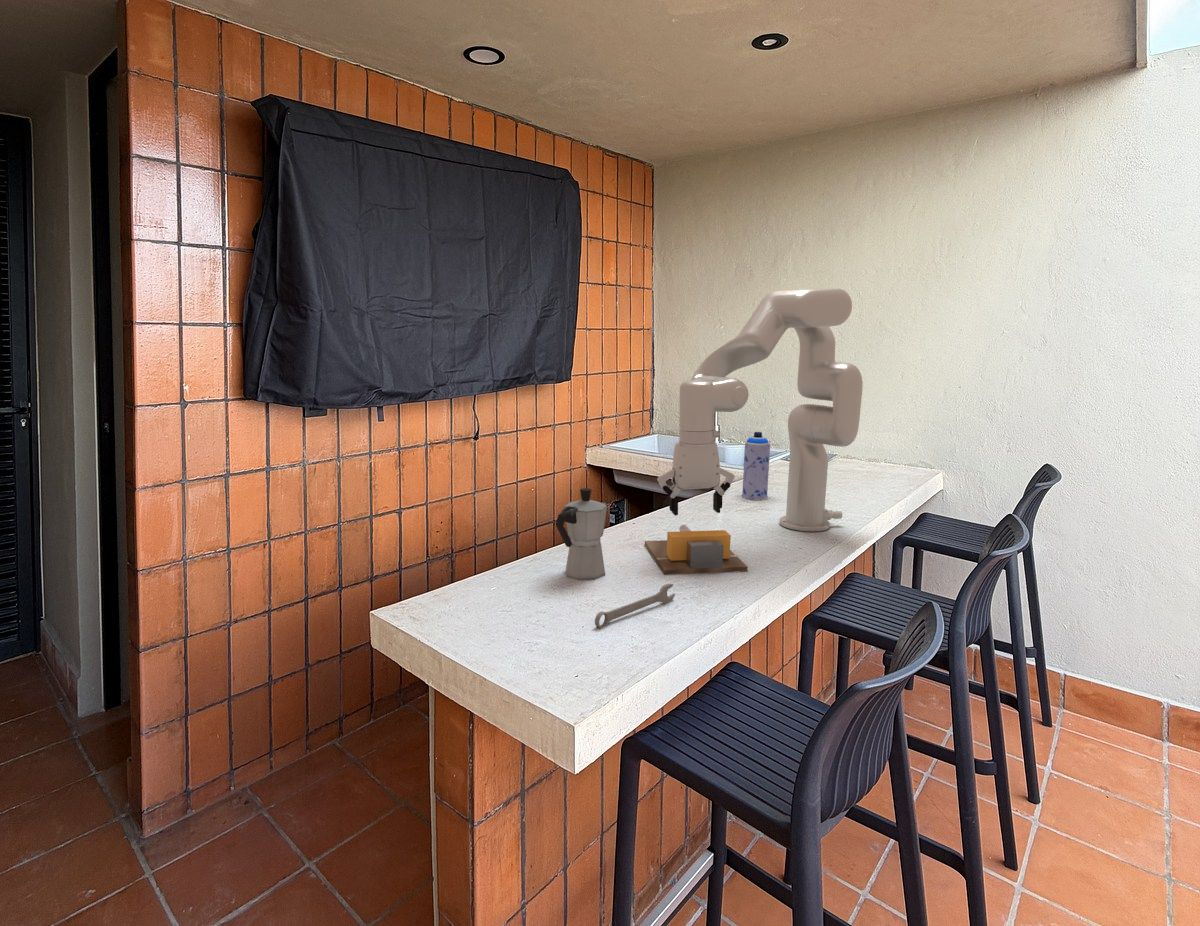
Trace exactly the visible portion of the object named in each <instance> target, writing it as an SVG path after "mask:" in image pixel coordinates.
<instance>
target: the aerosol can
mask: <svg viewBox="0 0 1200 926" xmlns="http://www.w3.org/2000/svg"><path fill="white" fill-rule="evenodd" d="M770 451H771V443H770V441H769V440H768V439H767V438H766V437H764V436H763V432H762V431H755V432H753V435H752V436H750V437H749V438H748V439H747V440H746V441H745V443H744V453H743V454H744V457H743V470H742V471H743V473H742V491H741V492H742V494H741V498H742V499H744V498H745V500H748V499H749V500H748V501H765V500H768V498H769V496H768V491H769V490H768V489H769V487H768V486H769V471H770V455H771V452H770Z"/></svg>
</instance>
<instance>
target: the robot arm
mask: <svg viewBox="0 0 1200 926" xmlns="http://www.w3.org/2000/svg"><path fill="white" fill-rule="evenodd" d="M852 309H853V300H852V298H851V296H850V294H849V293H848V292H847V291H846V290H844V289H842V288H819V289H818V288H812V289H811V288H810V289H808V288H807V289H785V290H783V289H782V290H774V291H771V292H768V293H767V294H765V296H764V297H763V298H762V299H761V301H760V302H759V303H758V305H757V307H756V308H755V310H754V311H753V313H752V314H751V315H750V317H749V318H748V320H747V322H746V323H745V325H743V327H742V329H741V330H740V332H739V333H738V334H737V335H736V336H735V337H734V338H732V339H731V340H729V341H727V342H726V343H724V344H723V345H722V346H720V347H718V348H717V349H715V350H714V351H713V352H711V353H710V354H708V356H707V357H705V358H704V360H703V361H702V362H701V363H700V365H699V366H698V368H697V369H696V370H695V372H694V373H693V375H692V376H691V378H690V380H685V381H682V382H681V384H680V386H679V412H678V413H679V419H678V421H679V424H678V425H679V429H678V430H679V431H678V432H679V433H678V436H679V437H678V439H679V442H675V444H674V449H673V455H672V465H671V470H669V471H667V472H665V473H663V474H661V475H659V476H658V477H657V479H656V480H657V482H658V483H659V487H661V489H662V491H664V493H665V494H667V495H668V497H669V501H668V502H669V503H668V504H669V507H668V509H669V512H671V513H672V514H673V515H674V517H675V516H676V517H677V516H678V515H679V498H678V497H677V496H678V494H679V493H680V492H681V491H682V490H699V489H700V490H701V489H713V490H714V491H713V495H712V499H713V501H712V505H713V506H712V509H713V510H714V512H715V513H717V514H720V513H721V509H722V508H723V496H724V495H725V493H726V492H727V491H728V490H729V488H731V484H732V483H733V480H734V479H735V477H736V476H735V475H734V474H733V472H730V471H727V470H725V469H723V468H722V467H721V465H720V464H721V463H720V454H719V447H718V443H717V442H716V438H720V437H721V431H720V430H716V429H715V413H716V412H718V413H719V412H720V413H733V412H737V411H739V410H742V409H743V407H744V406H745V405H746V404H747V402H748V399H749V389H748V387H747V385H746V384H745V383H744V382H743V381H741V380H740V379H737V378H735V377H734V378H733V377H729V376H728V375H730V374H731V373H734V372H735V371H737V370H740V369H742V368H745V367H749V366H751V365H755V364H758V363H760V362H762V361H764V360H766V359H768V358H769V357H770V355H771V354H772V352H773V351H774V349H775V348H776V346H777V344H778V343H779V341H780V340H781V338H782V337H783V335H784V334H785V332H786V331H787V330H788V329H794V330H795V332H796V334H797V337H798V341H799V353H798V354H799V356H798V369H797V370H798V371H797V379H796V380H797V382H796V383H797V384H796V386H797V391H798V393H799V394H800V396H801V397H804V398H807V399H811V400H819V401H827V402H829V401H830V402H832V406H830V405H823V404H814V403H804V404H799V405H797V406H796V407H795V406H794V408H793V409H792V410H791V411H790V412H789V414H788V418H787V430H788V431H787V432H788V437H789V439H788V440H789V464H788V465H789V466H788V478H787V479H788V480H787V493H786V494H787V495H786V507H785V508H786V509H785V515H784V516H781V517H780V518H779V524H780V526H782V527H784V528H787V529H789V530H794V531H800V532H822V531H827V530H829V528H830V527H831V524H830V521H831V519H834V520H839V519H842V518H843V512H842V511H838V510H836V511H833V510H832V509H828V508H826V495H827V494H826V493H827V483H828V482H827V480H828V469H829V458H828V452H827V450H826V448H825V446H824V445H827V446H834V447H841V448H842V447H844V448H845V447H847V446H850V445H851V444H852V443H853V442H854V441H855V439H856V438H857V435H858V432H859V426H860V421H861V419H860V417H861V409H862V407H861V406H862V399H863V398H862V397H863V386H864V385H863V376H862V373H861V371H860V369H859V367H857V366H856V365H854V364H852V363H849V362H839V361H837V362H836V338H835V335H834V332H833V331H832V329H831V327H836V326H841V325H843V323H845V322H846V321H847V320H848V319H849V317H850V316H851V313H852ZM727 376H728V377H727ZM721 476H723V477H725V479H724V481H723V482H722V483H721ZM670 479H671V483H672V486H670V487H669V486H668V484H667V483H666V482H667V481H668V480H670ZM720 483H721V484H720Z"/></svg>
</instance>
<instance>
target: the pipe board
mask: <svg viewBox="0 0 1200 926" xmlns="http://www.w3.org/2000/svg"><path fill="white" fill-rule="evenodd" d="M644 546H645V548H646V549H647V551H648V552H649V554H650V556H651V557H652V558H653V560H654V562H655V563H656V565H658V568H659V569H660V570H661V572H662V573H663V575H684V574H685V575H687V574H708V573H709V574H710V573H711V574H713V573H733V572H734V571H740V572H748V568H749V567H748V566H747V565H746V564H745V562H743V561H742V559H740V558H739V556H737V555H736V554H735V553H734V552H733V551H732V550H731V549H730V559H723V568H700V569H690V568H689V567H688V566H687V564H686V560H675V561H671V560H670V559H669V557H668V556H667V539H666V540H665V539H664V540H644Z"/></svg>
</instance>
